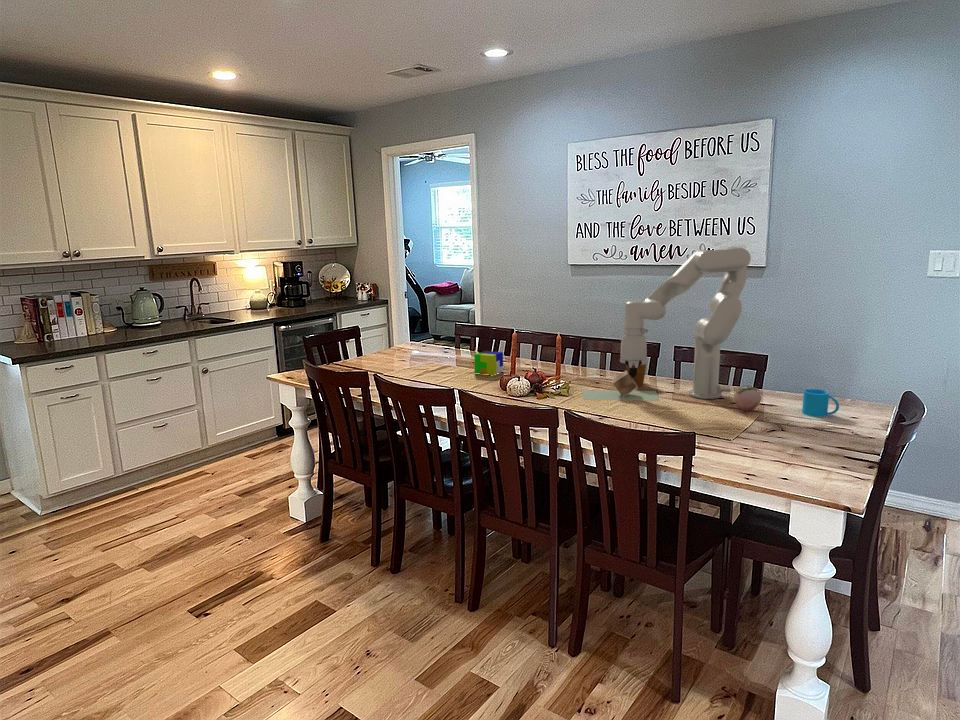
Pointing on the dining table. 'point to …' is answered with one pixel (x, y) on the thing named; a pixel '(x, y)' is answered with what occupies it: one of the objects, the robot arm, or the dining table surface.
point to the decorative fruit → (747, 398)
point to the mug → (817, 403)
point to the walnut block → (624, 383)
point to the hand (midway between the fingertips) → (632, 376)
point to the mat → (619, 395)
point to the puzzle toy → (488, 362)
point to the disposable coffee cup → (638, 373)
